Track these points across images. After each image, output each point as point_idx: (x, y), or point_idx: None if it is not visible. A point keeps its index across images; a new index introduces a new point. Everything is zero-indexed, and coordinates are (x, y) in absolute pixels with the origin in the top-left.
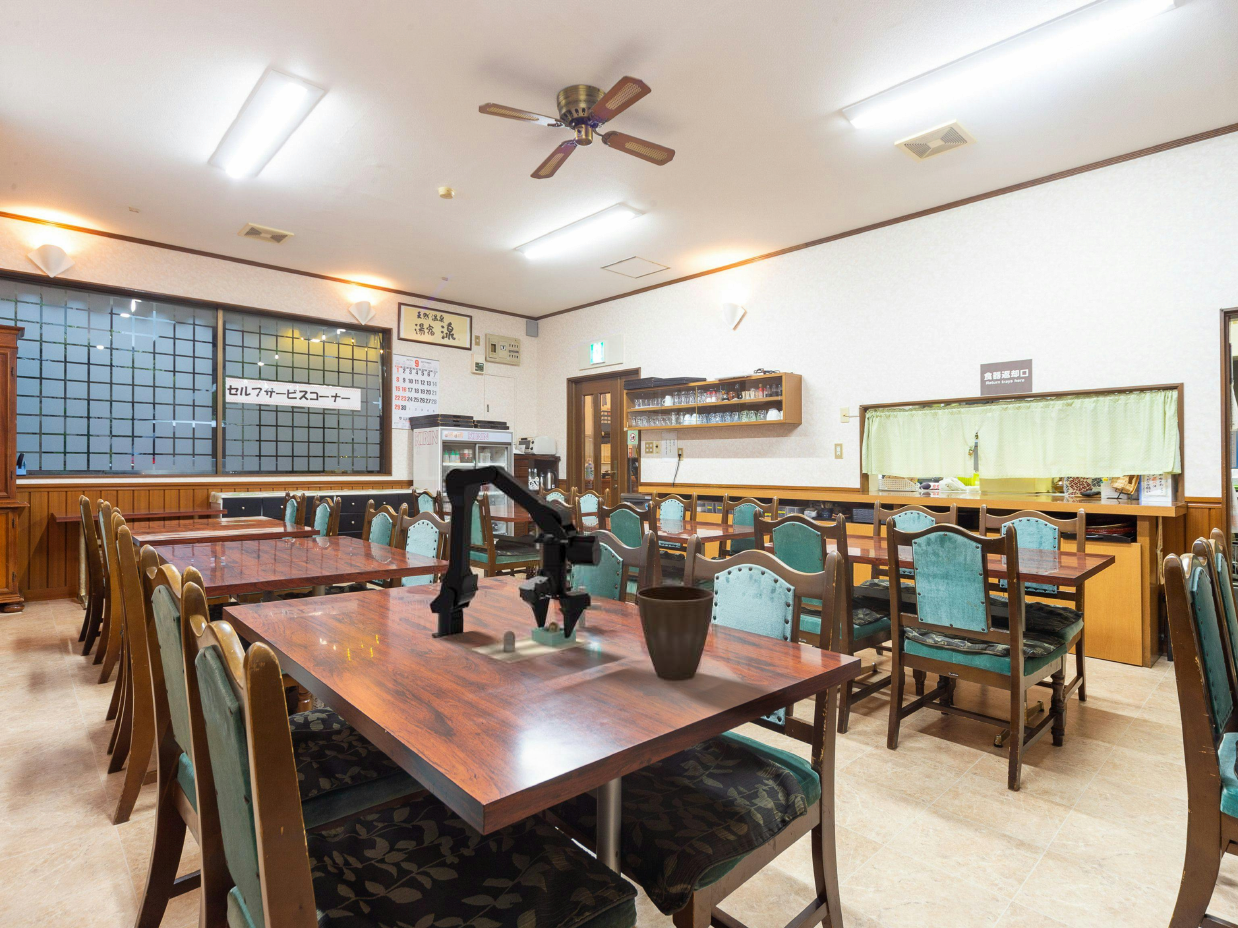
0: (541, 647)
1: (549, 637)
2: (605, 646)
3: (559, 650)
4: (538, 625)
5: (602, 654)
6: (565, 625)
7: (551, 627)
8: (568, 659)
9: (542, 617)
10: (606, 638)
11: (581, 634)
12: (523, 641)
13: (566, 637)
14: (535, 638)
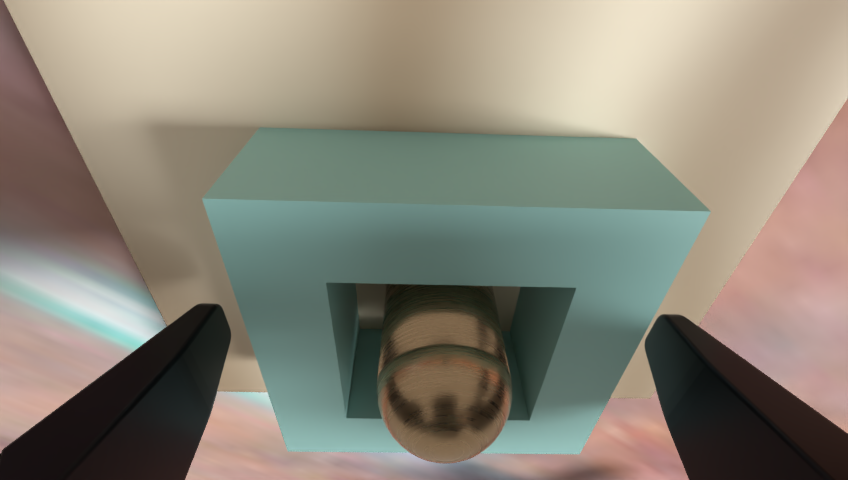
0: (305, 15)
1: (270, 179)
2: (243, 415)
3: (58, 92)
4: (709, 350)
5: (81, 333)
6: (50, 433)
7: (419, 357)
8: (19, 96)
9: (732, 477)
10: (370, 472)
11: (519, 455)
12: (711, 36)
13: (196, 311)
14: (573, 152)
